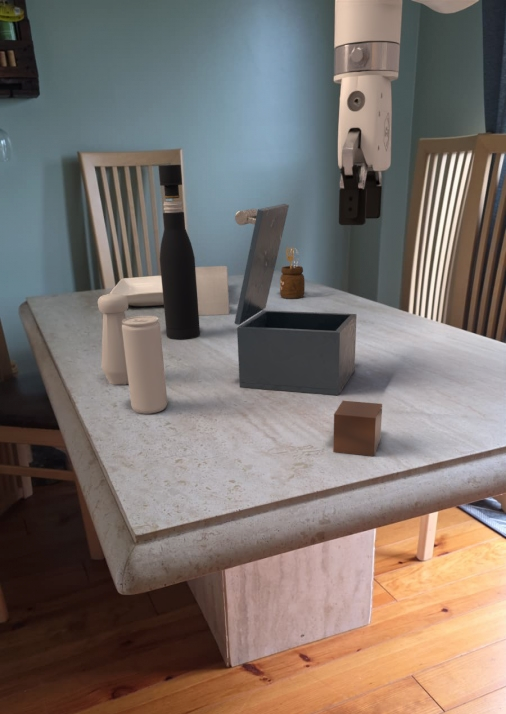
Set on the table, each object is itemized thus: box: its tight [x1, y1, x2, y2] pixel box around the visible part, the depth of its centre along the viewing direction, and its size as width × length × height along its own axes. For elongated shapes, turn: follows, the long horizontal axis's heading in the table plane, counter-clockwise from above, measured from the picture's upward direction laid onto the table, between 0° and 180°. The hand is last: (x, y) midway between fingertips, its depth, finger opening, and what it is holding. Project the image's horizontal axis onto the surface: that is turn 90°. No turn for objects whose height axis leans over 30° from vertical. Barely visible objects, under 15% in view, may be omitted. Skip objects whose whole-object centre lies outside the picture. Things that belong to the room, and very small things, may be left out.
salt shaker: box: [97, 293, 129, 386], centre depth 93 cm, size 6×6×13 cm
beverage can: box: [122, 315, 168, 415], centre depth 81 cm, size 5×5×12 cm
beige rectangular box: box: [195, 265, 230, 317], centre depth 136 cm, size 4×7×10 cm, turn 90°
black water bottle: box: [158, 164, 201, 340], centre depth 114 cm, size 6×6×30 cm
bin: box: [236, 309, 357, 396], centre depth 91 cm, size 15×12×9 cm
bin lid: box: [234, 203, 290, 326], centre depth 88 cm, size 15×12×5 cm
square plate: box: [109, 275, 164, 307], centre depth 156 cm, size 27×27×4 cm
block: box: [332, 400, 383, 457], centre depth 69 cm, size 4×4×4 cm
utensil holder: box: [279, 246, 306, 300], centre depth 150 cm, size 6×6×12 cm
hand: (360, 221), depth 80 cm, fingers open, 9 cm apart
